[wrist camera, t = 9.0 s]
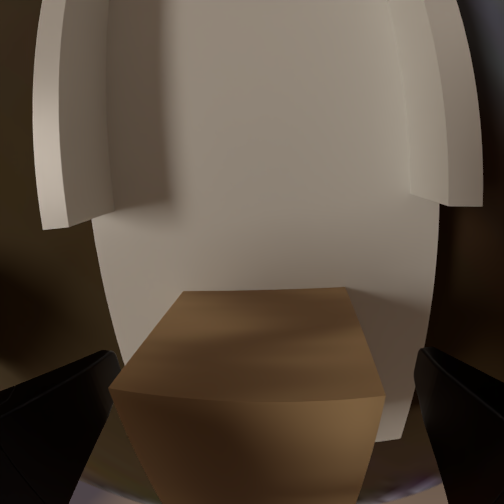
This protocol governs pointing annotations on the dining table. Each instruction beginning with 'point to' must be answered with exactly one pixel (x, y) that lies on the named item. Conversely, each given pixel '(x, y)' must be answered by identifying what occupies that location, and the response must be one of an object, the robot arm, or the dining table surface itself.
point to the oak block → (253, 399)
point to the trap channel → (261, 154)
